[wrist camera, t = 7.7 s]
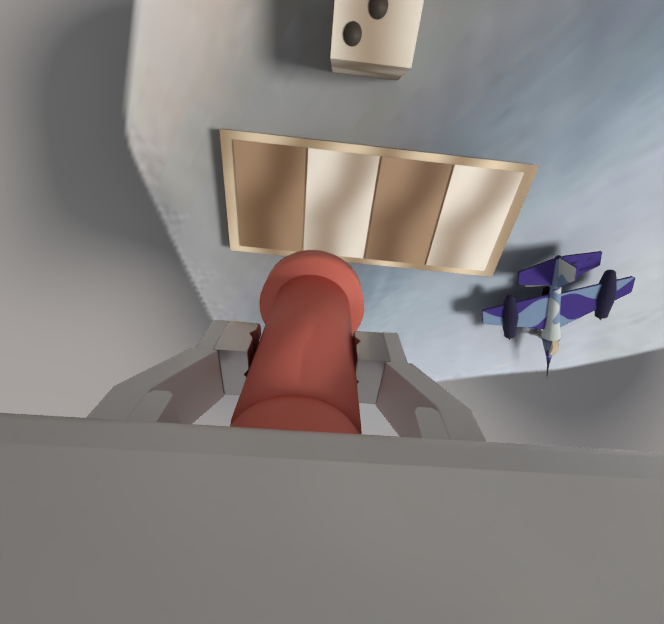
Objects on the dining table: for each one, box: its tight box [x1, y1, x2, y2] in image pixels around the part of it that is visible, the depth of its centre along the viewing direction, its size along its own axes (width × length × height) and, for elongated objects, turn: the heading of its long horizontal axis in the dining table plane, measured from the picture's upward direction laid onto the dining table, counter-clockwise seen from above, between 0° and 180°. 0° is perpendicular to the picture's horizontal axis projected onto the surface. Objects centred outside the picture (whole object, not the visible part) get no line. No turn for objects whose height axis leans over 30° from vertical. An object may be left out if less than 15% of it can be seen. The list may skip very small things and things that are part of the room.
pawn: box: [230, 250, 364, 434], centre depth 9 cm, size 4×4×10 cm
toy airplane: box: [482, 251, 635, 374], centre depth 30 cm, size 13×14×4 cm
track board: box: [219, 129, 539, 277], centre depth 26 cm, size 26×10×1 cm, turn 84°
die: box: [330, 0, 424, 80], centre depth 19 cm, size 5×5×5 cm
